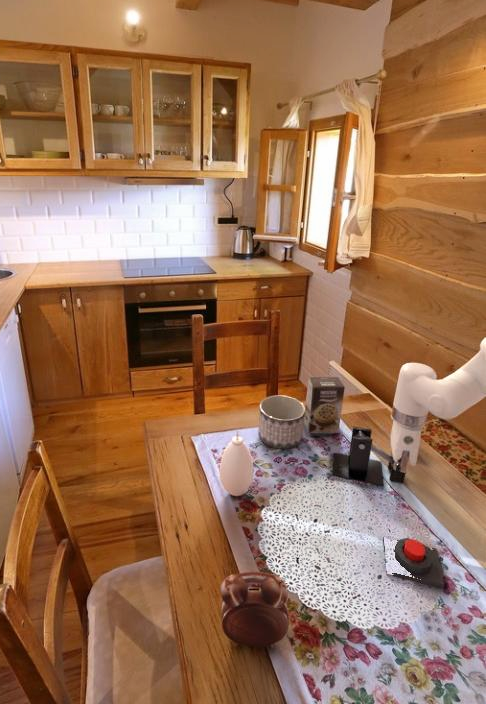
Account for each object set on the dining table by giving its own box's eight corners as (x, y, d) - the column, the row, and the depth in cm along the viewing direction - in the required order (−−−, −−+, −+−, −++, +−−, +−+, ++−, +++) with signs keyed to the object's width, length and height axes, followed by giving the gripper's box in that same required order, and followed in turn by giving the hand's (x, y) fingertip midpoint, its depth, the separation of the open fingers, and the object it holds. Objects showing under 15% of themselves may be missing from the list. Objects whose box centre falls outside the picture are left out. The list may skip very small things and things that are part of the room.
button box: (435, 552, 83) (438, 541, 82) (443, 589, 75) (446, 578, 74) (382, 540, 85) (385, 529, 84) (386, 574, 78) (388, 563, 77)
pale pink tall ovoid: (258, 489, 99) (261, 426, 92) (241, 510, 93) (243, 444, 86) (231, 476, 103) (232, 415, 96) (213, 495, 97) (213, 432, 90)
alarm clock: (283, 623, 70) (289, 560, 64) (287, 654, 65) (293, 589, 60) (220, 620, 70) (221, 557, 65) (219, 651, 66) (220, 586, 60)
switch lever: (399, 468, 103) (407, 461, 101) (400, 477, 100) (409, 469, 98) (352, 436, 103) (360, 428, 102) (352, 444, 100) (361, 436, 99)
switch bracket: (380, 464, 107) (386, 427, 103) (382, 489, 99) (390, 449, 95) (333, 456, 110) (337, 419, 106) (331, 478, 102) (336, 439, 98)
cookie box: (308, 435, 118) (313, 387, 113) (303, 422, 124) (307, 376, 119) (339, 435, 119) (345, 387, 113) (332, 422, 125) (338, 375, 119)
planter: (292, 458, 109) (295, 425, 106) (250, 442, 115) (251, 411, 112) (308, 433, 119) (311, 403, 116) (269, 420, 126) (271, 391, 122)
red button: (422, 548, 81) (423, 541, 80) (425, 564, 77) (426, 557, 77) (402, 543, 82) (404, 537, 81) (404, 559, 78) (406, 552, 78)
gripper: (433, 438, 87) (416, 504, 94) (420, 398, 101) (406, 457, 108) (395, 432, 89) (381, 496, 95) (388, 393, 103) (377, 451, 110)
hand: (395, 475), depth 102 cm, fingers closed on switch lever, 3 cm apart
